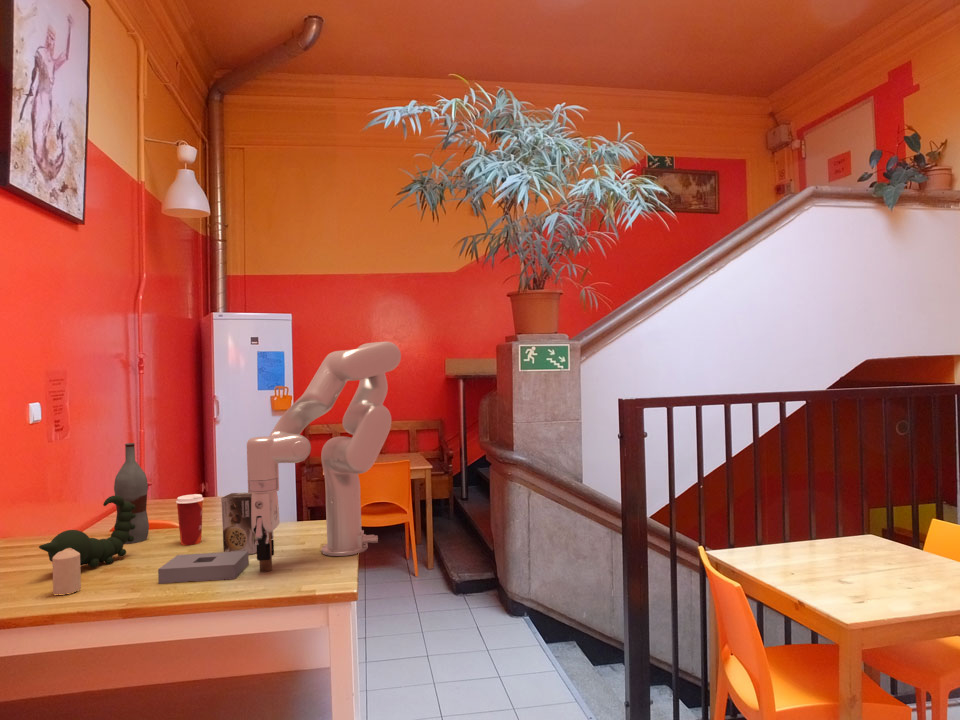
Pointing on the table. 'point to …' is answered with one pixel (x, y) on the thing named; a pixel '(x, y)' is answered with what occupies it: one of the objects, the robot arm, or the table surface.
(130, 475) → the bottle
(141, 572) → the table surface
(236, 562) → the hole block
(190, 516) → the paper cup
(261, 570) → the walnut peg
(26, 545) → the table surface
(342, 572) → the table surface
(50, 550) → the toy figurine
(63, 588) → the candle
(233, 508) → the coffee box
